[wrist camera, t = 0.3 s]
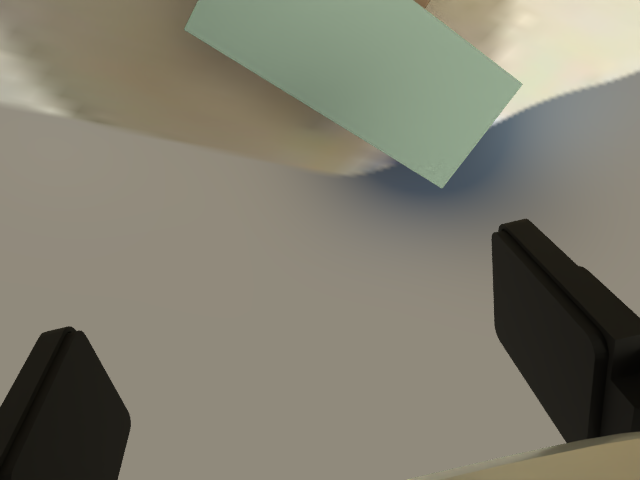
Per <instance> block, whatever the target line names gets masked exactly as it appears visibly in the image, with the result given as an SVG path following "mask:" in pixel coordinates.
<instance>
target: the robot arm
mask: <svg viewBox="0 0 640 480" xmlns="http://www.w3.org/2000/svg"><path fill="white" fill-rule="evenodd" d="M492 262H493V292H494V318H495V319H494V321H495V330H496V333H497V336H498V338H499V340H500V342H501V343H502V345H503V346H504V348H505V350H506V351H507V353H508V354H509V356H510V357H511V359H512V360H513V362H514V363H515V365H516V366H517V368H518V369H519V371H520V372H521V374H522V375H523V377H524V378H525V380H526V381H527V383H528V384H529V386H530V388H531V389H532V391H533V392H534V394H535V395H536V397H537V398H538V399H539V401H540V403H541V404H542V406H543V407H544V409H545V411H546V412H547V413H548V415H549V417H550V418H551V420H552V421H553V423H554V424H555V426H556V427H557V429H558V430H559V432H560V433H561V435H562V436H563V438H564V439H565V441H566V442H567V443H566V444H561V445H557V446H552V447H548V448H542V449H538V450H533V451H529V452H524V453H519V454H515V455H510V456H506V457H501V458H497V459H492V460H489V461H484V462H480V463H475V464H471V465H467V466H463V467H458V468H454V469H450V470H445V471H441V472H437V473H432V474H428V475H424V476H420V477H415V478H411V479H407V480H640V318H639V317H638V316H637V315H636V314H635V313H633V311H632V310H630V309H629V308H628V307H627V306H626V305H625V304H624V303H623V302H622V301H621V300H620V299H619V298H617V297H616V296H615V295H614V294H613V293H612V292H611V291H610V290H609V289H608V288H607V287H606V286H604V285H603V284H602V283H601V282H600V281H599V280H598V279H597V278H596V277H595V276H593V275H592V274H591V273H590V272H589V271H588V270H587V269H585V268H584V267H580V266H578V265H576V264H575V263H574V262H573V261H572V260H571V259H570V258H569V257H568V256H567V255H566V254H565V253H564V252H563V251H562V250H560V249H559V248H558V247H557V246H556V245H555V244H554V243H553V242H552V241H551V240H550V239H549V238H548V237H547V236H545V235H544V234H543V233H542V232H541V231H540V230H539V229H538V228H537V227H536V226H535V225H534V224H533V223H532V222H530V221H529V220H528V219H522V220H518V221H514V222H510V223H505V224H501V225H500V226H499V230H498V232H495V233H493V234H492ZM130 427H131V420H130V416H129V412H128V410H127V409H126V407H125V405H124V403H123V401H122V400H121V398H120V396H119V394H118V392H117V391H116V389H115V387H114V385H113V384H112V382H111V380H110V378H109V376H108V375H107V373H106V371H105V369H104V368H103V366H102V364H101V362H100V360H99V358H98V357H97V355H96V353H95V351H94V349H93V348H92V346H91V344H90V342H89V340H88V339H87V337H86V335H85V334H84V333H83V332H82V331H76V330H75V329H74V328H72V327H64V328H60V329H56V330H51V331H47V332H44V333H42V334H41V335H40V337H39V338H38V340H37V342H36V344H35V346H34V347H33V349H32V351H31V353H30V355H29V357H28V358H27V360H26V362H25V364H24V365H23V367H22V369H21V371H20V373H19V374H18V376H17V378H16V380H15V382H14V384H13V385H12V387H11V389H10V391H9V393H8V395H7V396H6V398H5V400H4V402H3V403H2V405H1V407H0V480H118V475H119V472H120V468H121V464H122V460H123V456H124V452H125V448H126V444H127V440H128V436H129V432H130Z"/></svg>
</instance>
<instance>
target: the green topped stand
mask: <svg viewBox="0 0 640 480" xmlns="http://www.w3.org/2000/svg"><path fill="white" fill-rule="evenodd" d="M184 30H185V31H187V32H189V33H190V34H192V35H193V36H195V37H197V38H198V39H200V40H202V41H203V42H205V43H206V44H208V45H210V46H211V47H213V48H215V49H216V50H218V51H219V52H221V53H223V54H224V55H226V56H228V57H229V58H231V59H232V60H234V61H236V62H237V63H239V64H241V65H242V66H244V67H246V68H247V69H249V70H250V71H252V72H254V73H255V74H257V75H259V76H260V77H262V78H263V79H265V80H267V81H268V82H270V83H272V84H273V85H275V86H276V87H278V88H280V89H281V90H283V91H285V92H286V93H288V94H289V95H291V96H293V97H294V98H296V99H298V100H299V101H301V102H302V103H304V104H306V105H307V106H309V107H311V108H312V109H314V110H315V111H317V112H319V113H320V114H322V115H324V116H325V117H327V118H328V119H330V120H332V121H333V122H335V123H337V124H338V125H340V126H341V127H343V128H345V129H346V130H348V131H350V132H351V133H353V134H354V135H356V136H358V137H359V138H361V139H363V140H364V141H366V142H367V143H369V144H371V145H372V146H374V147H376V148H377V149H379V150H380V151H382V152H384V153H385V154H387V155H389V156H390V157H392V158H393V159H395V160H397V161H398V162H400V163H402V164H403V165H405V166H406V167H408V168H410V169H411V170H413V171H415V172H416V173H418V174H420V175H421V176H423V177H424V178H426V179H428V180H429V181H431V182H432V183H434V184H436V185H437V186H439V187H441V188H443V187H444V185H445V184H446V183H447V182H448V180H449V179H450V178H451V176H452V175H453V174H454V172H455V171H456V170H457V168H458V167H459V166H460V165H461V163H462V162H463V161H464V159H465V158H466V157H467V156H468V154H469V153H470V152H471V150H472V149H473V148H474V147H475V145H476V144H477V143H478V141H479V140H480V139H481V137H482V136H483V135H484V134H485V132H486V131H487V130H488V128H489V127H490V126H491V125H492V123H493V122H494V121H495V119H496V118H497V117H498V116H499V114H500V113H501V112H502V110H503V109H504V108H505V106H506V105H507V104H508V103H509V101H510V100H511V99H512V97H513V96H514V95H515V94H516V92H517V91H518V90H519V88H520V87H521V86H522V85H523V84H522V83H521V82H519V81H518V80H517V79H515V78H514V77H513V76H512V75H510V74H509V73H508V72H506V71H505V70H504V69H502V68H501V67H500V66H498V65H497V64H496V63H495V62H493V61H492V60H491V59H489V58H488V57H487V56H485V55H484V54H483V53H482V52H480V51H479V50H478V49H476V48H475V47H474V46H472V45H471V44H470V43H468V42H467V41H466V40H465V39H463V38H462V37H461V36H459V35H458V34H457V33H455V32H454V31H453V30H451V29H450V28H449V27H448V26H446V25H445V24H444V23H442V22H441V21H440V20H438V19H437V18H436V17H435V16H433V15H432V14H431V13H429V12H428V11H427V10H425V9H424V8H423V7H421V6H420V5H419V4H418V3H416V2H415V1H414V0H198V2H197V4H196V6H195V8H194V10H193V12H192V14H191V16H190V18H189V20H188V22H187V24H186V26H185V28H184Z"/></svg>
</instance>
